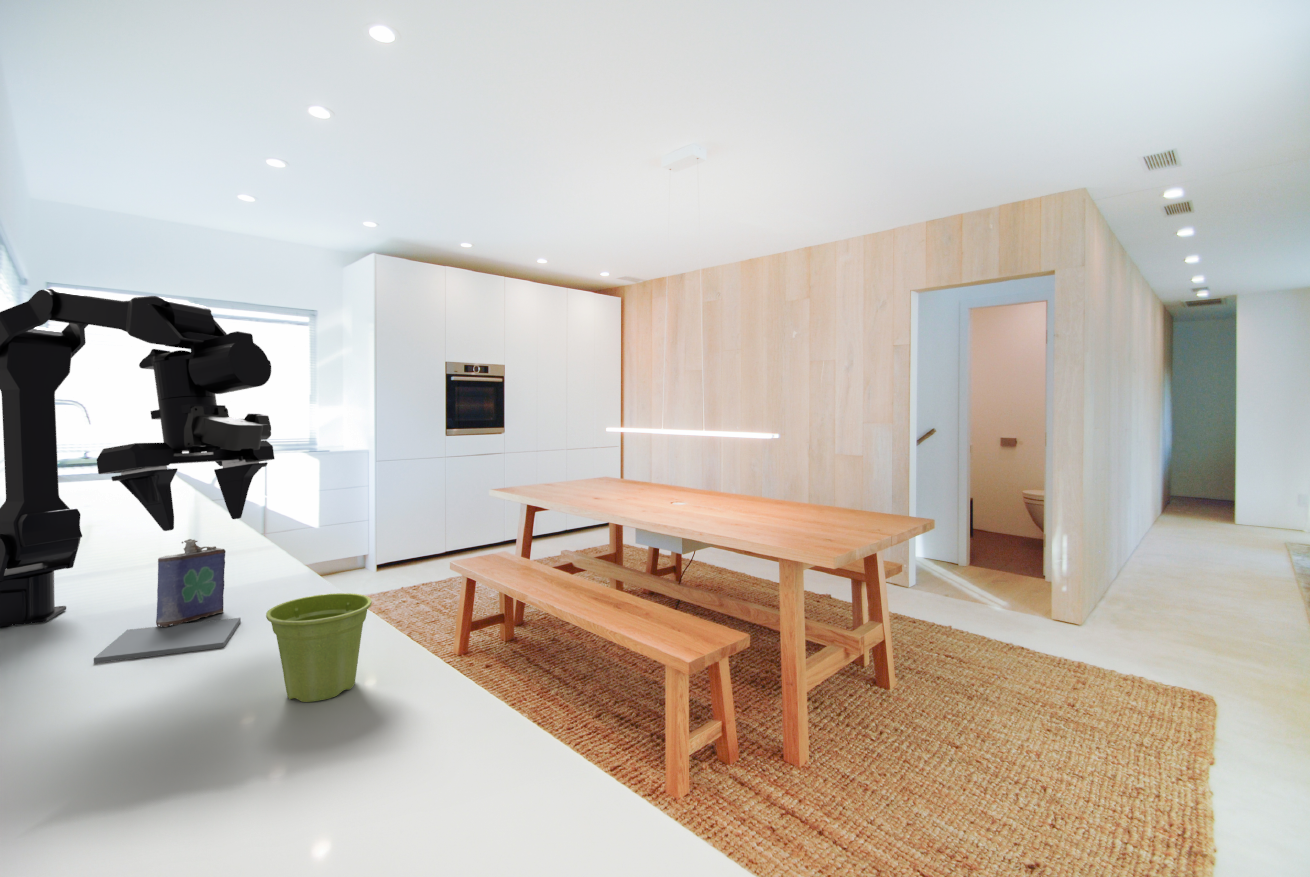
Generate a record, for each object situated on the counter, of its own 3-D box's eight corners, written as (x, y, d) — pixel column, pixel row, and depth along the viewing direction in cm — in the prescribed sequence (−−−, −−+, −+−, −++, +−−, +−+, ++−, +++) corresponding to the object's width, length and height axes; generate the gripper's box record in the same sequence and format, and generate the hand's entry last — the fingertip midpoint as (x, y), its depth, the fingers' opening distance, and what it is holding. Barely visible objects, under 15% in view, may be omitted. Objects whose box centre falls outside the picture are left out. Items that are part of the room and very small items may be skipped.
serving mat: (127, 634, 76) (127, 629, 76) (240, 622, 81) (240, 617, 81) (93, 663, 67) (93, 658, 67) (223, 647, 72) (223, 642, 72)
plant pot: (260, 720, 55) (260, 626, 54) (271, 680, 63) (271, 599, 63) (373, 699, 59) (373, 612, 59) (369, 665, 67) (369, 588, 67)
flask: (167, 627, 76) (168, 543, 77) (147, 627, 77) (149, 543, 77) (229, 611, 85) (230, 535, 86) (211, 610, 86) (212, 536, 86)
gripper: (168, 384, 64) (188, 529, 63) (300, 394, 82) (316, 506, 82) (84, 400, 66) (103, 541, 65) (231, 406, 84) (246, 516, 84)
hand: (204, 524), depth 74 cm, fingers open, 9 cm apart
